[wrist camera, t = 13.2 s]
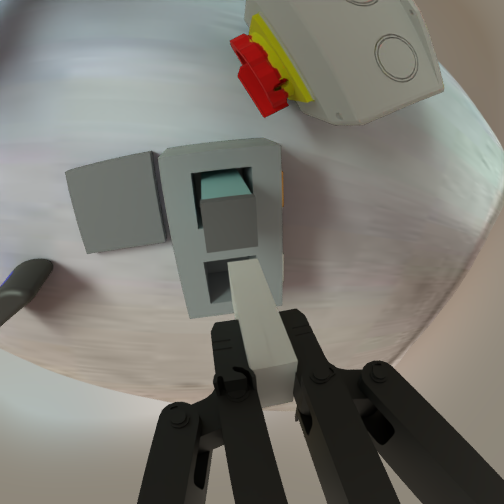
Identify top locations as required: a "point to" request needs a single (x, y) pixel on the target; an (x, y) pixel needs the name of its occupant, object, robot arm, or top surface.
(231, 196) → the plug
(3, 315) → the dark grey curved block
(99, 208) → the block
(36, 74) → the top surface
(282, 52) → the electrical switch box
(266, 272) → the junction block
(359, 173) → the top surface
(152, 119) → the top surface
